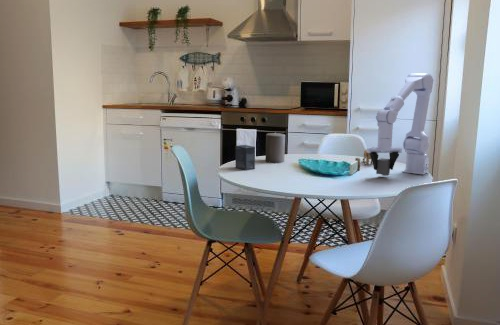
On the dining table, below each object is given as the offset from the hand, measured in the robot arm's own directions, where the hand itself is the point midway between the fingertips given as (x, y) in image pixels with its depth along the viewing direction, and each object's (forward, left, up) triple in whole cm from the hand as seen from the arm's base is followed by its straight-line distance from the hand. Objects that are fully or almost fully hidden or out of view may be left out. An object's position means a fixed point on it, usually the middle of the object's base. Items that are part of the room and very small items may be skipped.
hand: (383, 169), depth 201 cm
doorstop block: (0, 0, -2) cm, 2 cm away
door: (+14, -1, -3) cm, 15 cm away
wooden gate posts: (+8, -8, -4) cm, 12 cm away
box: (+58, +21, -4) cm, 62 cm away
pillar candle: (+57, -3, -4) cm, 57 cm away
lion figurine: (+17, -27, -4) cm, 32 cm away
